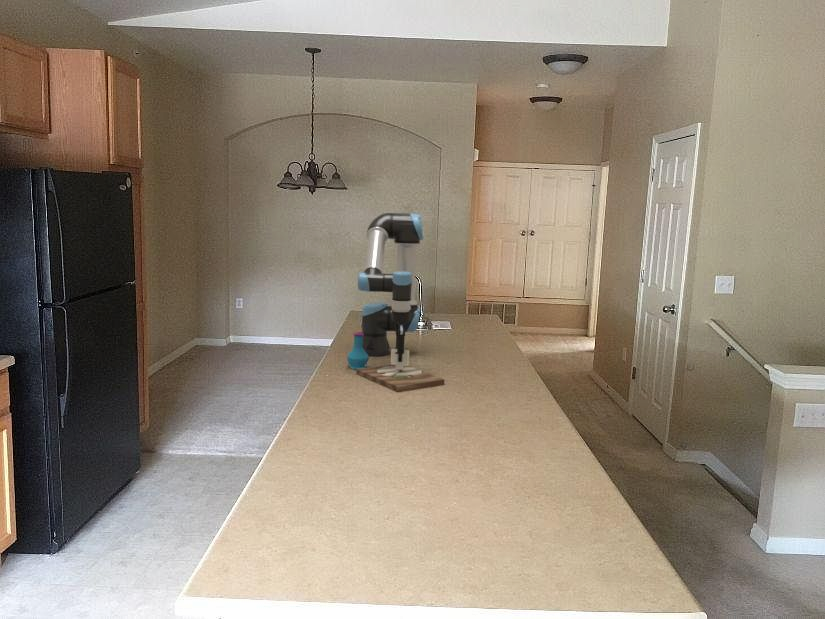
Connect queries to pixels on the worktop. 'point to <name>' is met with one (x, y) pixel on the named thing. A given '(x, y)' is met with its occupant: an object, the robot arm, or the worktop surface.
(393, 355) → the beige block with bar
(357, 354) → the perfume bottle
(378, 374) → the tuner board
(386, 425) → the worktop surface
